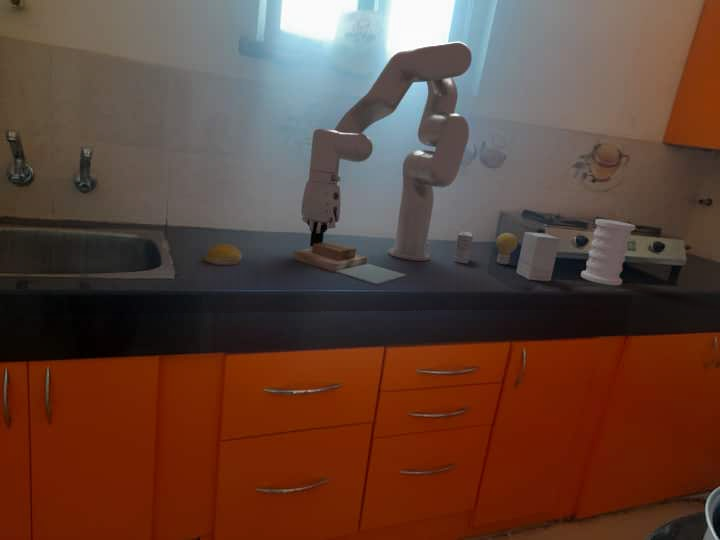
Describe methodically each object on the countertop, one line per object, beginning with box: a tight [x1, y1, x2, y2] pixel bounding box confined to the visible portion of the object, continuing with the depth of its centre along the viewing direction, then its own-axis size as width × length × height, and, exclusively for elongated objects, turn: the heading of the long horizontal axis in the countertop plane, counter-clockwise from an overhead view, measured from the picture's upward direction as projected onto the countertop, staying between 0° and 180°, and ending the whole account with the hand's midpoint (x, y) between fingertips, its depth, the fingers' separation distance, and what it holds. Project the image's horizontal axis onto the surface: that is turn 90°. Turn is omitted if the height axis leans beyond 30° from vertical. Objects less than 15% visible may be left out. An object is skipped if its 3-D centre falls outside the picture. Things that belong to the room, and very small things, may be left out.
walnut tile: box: [311, 241, 357, 261], centre depth 132 cm, size 7×9×2 cm
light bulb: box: [495, 232, 518, 266], centre depth 157 cm, size 6×6×10 cm
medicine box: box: [453, 230, 473, 265], centre depth 155 cm, size 8×4×9 cm, turn 168°
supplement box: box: [515, 231, 561, 282], centre depth 144 cm, size 7×7×13 cm
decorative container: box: [580, 218, 636, 286], centre depth 152 cm, size 12×12×18 cm
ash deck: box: [292, 248, 368, 273], centre depth 133 cm, size 14×14×2 cm
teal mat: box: [335, 263, 407, 286], centre depth 126 cm, size 14×12×1 cm
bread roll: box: [204, 243, 243, 266], centre depth 120 cm, size 8×9×4 cm
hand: (316, 246), depth 135 cm, fingers closed
